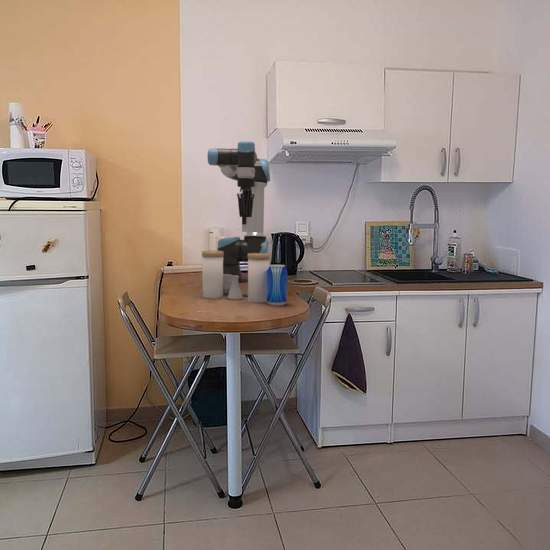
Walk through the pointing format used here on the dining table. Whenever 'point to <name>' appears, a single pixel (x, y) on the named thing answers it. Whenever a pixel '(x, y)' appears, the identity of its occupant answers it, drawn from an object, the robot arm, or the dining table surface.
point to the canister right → (257, 276)
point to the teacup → (227, 282)
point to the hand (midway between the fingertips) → (245, 231)
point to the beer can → (276, 285)
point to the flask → (235, 289)
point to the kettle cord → (242, 294)
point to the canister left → (212, 274)
